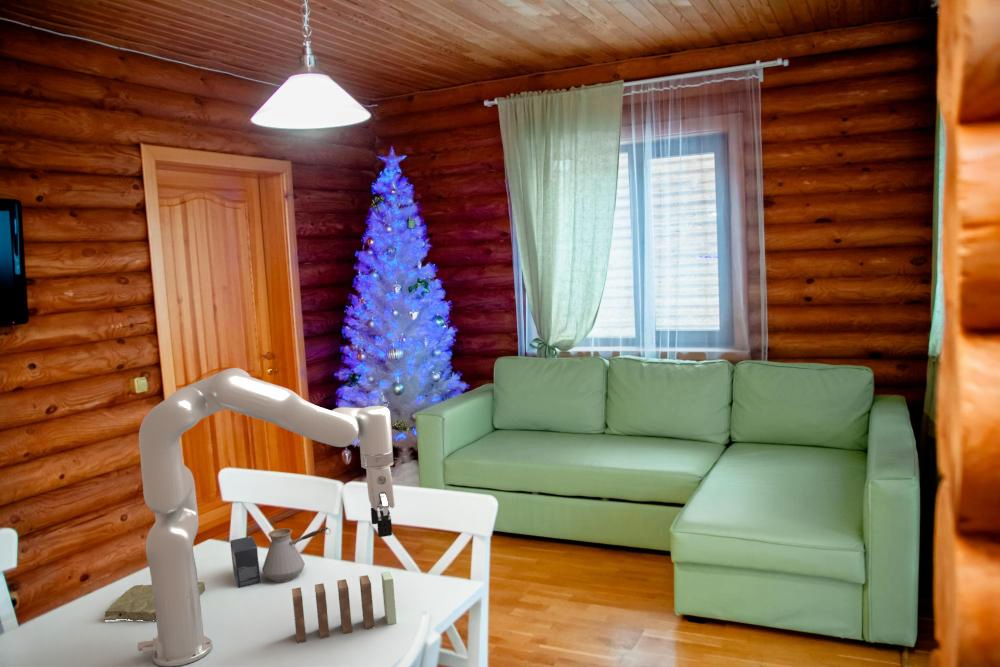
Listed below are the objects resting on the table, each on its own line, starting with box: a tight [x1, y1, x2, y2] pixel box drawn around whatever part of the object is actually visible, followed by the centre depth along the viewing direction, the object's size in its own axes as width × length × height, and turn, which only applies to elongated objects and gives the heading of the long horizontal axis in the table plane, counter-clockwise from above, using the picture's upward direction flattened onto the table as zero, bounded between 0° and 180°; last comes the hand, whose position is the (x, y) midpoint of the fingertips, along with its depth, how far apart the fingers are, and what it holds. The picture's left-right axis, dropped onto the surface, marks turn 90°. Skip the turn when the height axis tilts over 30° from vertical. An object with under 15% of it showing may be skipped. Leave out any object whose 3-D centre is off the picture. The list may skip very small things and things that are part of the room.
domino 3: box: [336, 579, 353, 635], centre depth 188 cm, size 2×5×11 cm, turn 18°
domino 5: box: [380, 570, 398, 626], centre depth 191 cm, size 2×5×11 cm, turn 17°
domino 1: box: [291, 587, 307, 644], centre depth 185 cm, size 2×5×11 cm, turn 18°
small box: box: [230, 535, 262, 589], centre depth 222 cm, size 11×6×10 cm, turn 25°
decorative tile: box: [103, 581, 206, 622], centre depth 208 cm, size 19×20×4 cm
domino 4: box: [358, 574, 375, 630], centre depth 190 cm, size 2×5×11 cm, turn 18°
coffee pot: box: [262, 526, 331, 583], centre depth 221 cm, size 21×12×15 cm, turn 71°
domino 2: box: [314, 582, 330, 639], centre depth 187 cm, size 2×5×11 cm, turn 18°
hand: (381, 529), depth 190 cm, fingers open, 9 cm apart
